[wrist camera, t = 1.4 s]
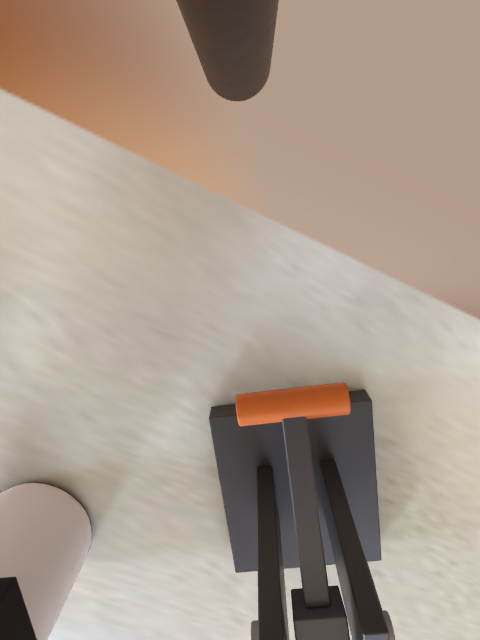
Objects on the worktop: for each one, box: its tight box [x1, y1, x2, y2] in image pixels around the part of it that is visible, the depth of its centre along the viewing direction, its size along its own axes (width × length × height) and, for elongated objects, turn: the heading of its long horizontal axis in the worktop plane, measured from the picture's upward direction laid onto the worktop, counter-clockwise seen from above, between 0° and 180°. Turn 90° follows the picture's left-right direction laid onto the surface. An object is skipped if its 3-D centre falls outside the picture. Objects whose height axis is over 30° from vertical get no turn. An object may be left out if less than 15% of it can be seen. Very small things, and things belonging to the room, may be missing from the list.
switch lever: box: [236, 382, 351, 640], centre depth 19 cm, size 12×5×2 cm, turn 8°
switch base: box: [209, 390, 395, 640], centre depth 23 cm, size 12×10×13 cm
